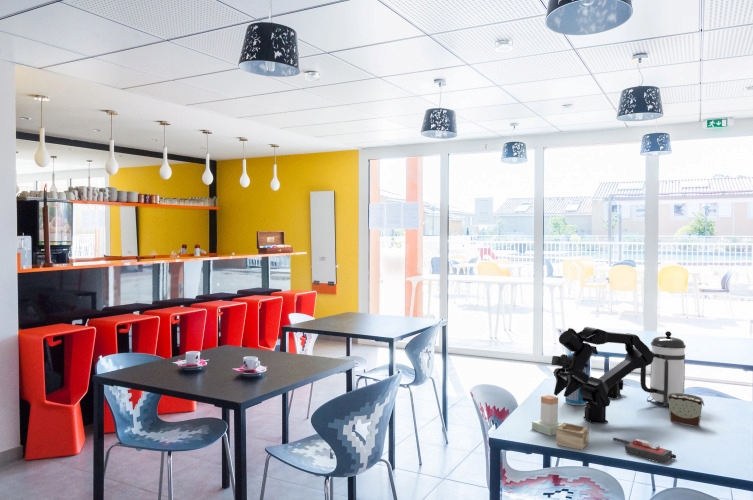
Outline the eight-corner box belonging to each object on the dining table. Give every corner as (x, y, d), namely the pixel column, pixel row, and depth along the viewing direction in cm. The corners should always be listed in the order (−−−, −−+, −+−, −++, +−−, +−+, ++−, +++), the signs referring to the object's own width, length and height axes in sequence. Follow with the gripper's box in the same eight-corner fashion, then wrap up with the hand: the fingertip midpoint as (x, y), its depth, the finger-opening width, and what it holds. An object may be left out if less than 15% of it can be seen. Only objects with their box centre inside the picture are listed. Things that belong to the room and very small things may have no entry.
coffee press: (647, 396, 246) (649, 327, 246) (689, 403, 237) (691, 331, 237) (639, 405, 232) (641, 331, 232) (683, 412, 223) (685, 335, 223)
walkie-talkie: (679, 459, 173) (614, 442, 188) (679, 445, 173) (614, 428, 188) (667, 466, 167) (602, 448, 182) (668, 451, 167) (602, 434, 182)
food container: (707, 424, 208) (708, 397, 208) (703, 428, 203) (703, 400, 203) (671, 417, 216) (671, 390, 216) (666, 420, 211) (666, 393, 211)
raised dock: (563, 437, 190) (563, 422, 190) (588, 442, 185) (588, 427, 185) (556, 444, 183) (556, 428, 183) (582, 449, 179) (582, 433, 178)
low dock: (547, 425, 202) (548, 418, 202) (566, 432, 196) (566, 424, 196) (531, 428, 198) (532, 421, 198) (549, 435, 191) (549, 427, 191)
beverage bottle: (565, 404, 230) (566, 355, 230) (564, 399, 239) (565, 352, 238) (587, 406, 228) (588, 357, 228) (586, 401, 236) (587, 353, 236)
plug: (548, 426, 200) (549, 395, 200) (557, 429, 196) (558, 397, 196) (540, 428, 198) (541, 396, 198) (549, 431, 194) (550, 399, 194)
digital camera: (619, 399, 241) (619, 382, 241) (605, 397, 244) (606, 381, 244) (623, 394, 250) (623, 378, 250) (609, 392, 253) (610, 376, 253)
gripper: (551, 346, 216) (531, 382, 213) (571, 345, 198) (550, 384, 195) (576, 362, 216) (557, 398, 213) (598, 362, 198) (578, 402, 195)
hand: (559, 395), depth 204 cm, fingers open, 9 cm apart
